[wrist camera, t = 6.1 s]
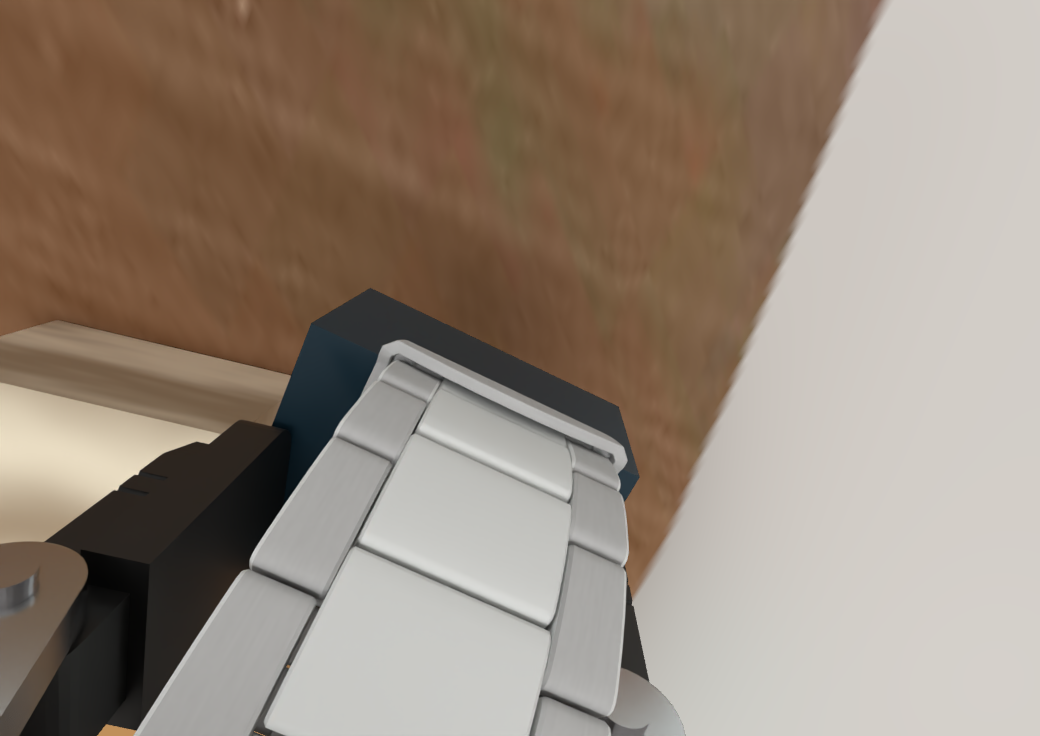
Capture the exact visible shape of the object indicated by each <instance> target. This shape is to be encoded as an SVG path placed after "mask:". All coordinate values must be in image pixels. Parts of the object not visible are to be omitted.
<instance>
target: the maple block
mask: <svg viewBox="0 0 1040 736" xmlns="http://www.w3.org/2000/svg"><path fill="white" fill-rule="evenodd" d="M290 377H291V375H287V374H283V373H278V372H274V371H270V370H266V369H262V368H257V367H253V366H249V365H245V364H241V363H236V362H232V361H228V360H224V359H220V358H215V357H211V356H207V355H203V354H199V353H194V352H190V351H186V350H182V349H178V348H173V347H169V346H165V345H161V344H156V343H152V342H148V341H144V340H140V339H135V338H131V337H127V336H123V335H119V334H114V333H110V332H106V331H102V330H98V329H93V328H89V327H85V326H81V325H77V324H72V323H68V322H64V321H60V320H55V321H52V322H48V323H45V324H42V325H38V326H35V327H31V328H28V329H24V330H21V331H17V332H14V333H11V334H7V335H4V336H0V544H3V543H10V542H23V541H38V542H44V541H46V540H47V539H48V538H50V537H51V536H53V535H54V534H55V533H57V532H58V531H59V530H61V529H62V528H63V527H65V526H66V525H67V524H69V523H70V522H71V521H73V520H74V519H75V518H77V517H78V516H79V515H81V514H82V513H83V512H85V511H86V510H87V509H89V508H90V507H92V506H93V505H94V504H96V503H97V502H98V501H100V500H101V499H102V498H104V497H105V496H106V495H108V494H109V493H110V492H112V491H113V490H116V491H117V490H118V489H119V486H120V485H121V484H122V483H124V482H125V481H126V480H128V479H129V478H131V477H132V476H133V475H138V474H139V471H140V470H141V469H143V468H144V467H145V466H147V465H148V464H149V463H151V462H152V461H153V460H155V459H156V458H157V457H159V456H160V455H161V454H163V453H165V452H168V451H171V450H174V449H177V448H179V447H182V446H185V445H188V444H191V443H194V442H196V441H197V442H201V443H206V444H210V443H211V442H212V441H213V440H215V439H216V438H217V437H218V436H219V435H221V434H222V433H223V432H224V431H226V430H227V429H228V428H229V427H230V426H232V425H233V424H234V423H235V422H237V421H238V420H247V421H251V422H256V423H260V424H264V425H269V426H272V424H273V421H274V419H275V416H276V413H277V411H278V408H279V406H280V403H281V401H282V398H283V395H284V393H285V390H286V388H287V385H288V382H289V380H290Z"/></svg>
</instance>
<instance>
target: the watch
mask: <svg viewBox="0 0 1040 736" xmlns="http://www.w3.org/2000/svg"><path fill="white" fill-rule="evenodd" d="M272 426H273V427H278V428H282V429H286V430H289V432H290V434H291V449H290V457H289V465H288V472H287V480H286V488H285V495H284V503H283V507H282V509H281V510H280V512H279V513H278V515H277V516H276V518H275V519H274V521H273V522H272V524H271V525H270V527H269V528H268V530H267V531H266V533H265V534H264V536H263V537H262V539H261V540H260V542H259V543H258V545H257V547H256V548H255V550H254V552H253V554H252V555H251V558H250V564H249V567H250V569H251V570H250V569H248V570H243V571H241V572H240V574H239V575H238V576H237V578H236V579H235V580H234V582H233V583H232V585H231V586H230V588H229V589H228V591H227V592H226V594H225V595H224V597H223V598H222V600H221V601H220V603H219V604H218V606H217V607H216V609H215V610H214V612H213V613H212V615H211V616H210V618H209V619H208V621H207V622H206V624H205V625H204V627H203V628H202V630H201V631H200V633H199V634H198V636H197V638H196V639H195V641H194V642H193V644H192V645H191V647H190V648H189V650H188V651H187V653H186V654H185V656H184V658H183V659H182V661H181V662H180V664H179V665H178V667H177V668H176V670H175V671H174V673H173V675H172V676H171V678H170V679H169V681H168V682H167V684H166V685H165V687H164V689H163V690H162V692H161V693H160V695H159V696H158V698H157V700H156V701H155V703H154V704H153V706H152V707H151V709H150V711H149V712H148V714H147V715H146V717H145V718H144V720H143V722H142V723H141V725H140V726H139V728H138V729H137V731H136V733H135V734H134V736H263V735H265V736H611V729H610V727H609V726H608V725H607V723H606V722H605V721H602V720H600V719H598V718H601V717H605V716H608V715H610V714H611V713H612V712H613V710H614V707H615V704H616V700H617V694H618V686H619V677H620V668H621V658H622V649H623V637H624V624H625V607H626V582H627V578H626V572H625V570H624V569H623V566H624V565H625V563H626V561H627V558H628V553H629V545H628V530H627V519H626V511H625V505H624V502H625V500H626V499H627V497H628V495H629V494H630V492H631V490H632V489H633V487H634V485H635V484H636V482H637V481H638V479H639V474H638V470H637V467H636V464H635V460H634V457H633V453H632V450H631V447H630V443H629V440H628V437H627V433H626V430H625V427H624V423H623V420H622V417H621V413H620V410H619V407H618V406H616V405H614V404H612V403H610V402H607V401H605V400H603V399H601V398H599V397H597V396H595V395H593V394H591V393H589V392H587V391H584V390H582V389H580V388H578V387H576V386H574V385H572V384H570V383H568V382H566V381H564V380H561V379H559V378H557V377H555V376H553V375H551V374H549V373H547V372H545V371H543V370H541V369H539V368H536V367H534V366H532V365H530V364H528V363H526V362H524V361H522V360H520V359H518V358H516V357H513V356H511V355H509V354H507V353H505V352H503V351H501V350H499V349H497V348H495V347H493V346H490V345H488V344H486V343H484V342H482V341H480V340H478V339H476V338H474V337H472V336H470V335H467V334H465V333H463V332H461V331H459V330H457V329H455V328H453V327H451V326H449V325H447V324H444V323H442V322H440V321H438V320H436V319H434V318H432V317H430V316H428V315H426V314H424V313H422V312H419V311H417V310H415V309H413V308H411V307H409V306H407V305H405V304H403V303H401V302H399V301H396V300H394V299H392V298H390V297H388V296H386V295H384V294H382V293H380V292H378V291H376V290H373V289H371V288H370V289H368V290H366V291H364V292H363V293H361V294H359V295H358V296H356V297H354V298H353V299H351V300H349V301H348V302H346V303H344V304H343V305H341V306H339V307H338V308H336V309H334V310H333V311H331V312H329V313H328V314H326V315H324V316H323V317H321V318H319V319H318V320H316V321H314V322H313V323H311V326H310V328H309V331H308V333H307V336H306V339H305V341H304V344H303V346H302V349H301V352H300V354H299V357H298V359H297V362H296V364H295V367H294V370H293V372H292V375H291V377H290V380H289V382H288V385H287V388H286V390H285V393H284V395H283V398H282V401H281V403H280V406H279V408H278V411H277V413H276V416H275V419H274V421H273V424H272ZM315 606H318V607H320V608H318V607H315ZM287 664H288V665H290V666H291V667H290V669H289V668H286V666H287ZM539 694H540V695H542V696H544V697H540V698H539ZM254 731H255V732H258V733H260V734H263V735H260V734H258V733H255V732H254Z"/></svg>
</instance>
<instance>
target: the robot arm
mask: <svg viewBox="0 0 1040 736" xmlns="http://www.w3.org/2000/svg"><path fill="white" fill-rule="evenodd" d="M290 449H291V434H290V432H289V430H286V429H282V428H278V427H273V426H269V425H264V424H260V423H256V422H251V421H247V420H238V421H237V422H235V423H234V424H233V425H232V426H230V427H229V428H228V429H227V430H226V431H224V432H223V433H222V434H221V435H219V436H218V437H217V438H216V439H215V440H213V441H212V442H211V443H210V444H206V443H201V442H197V441H196V442H194V443H191V444H188V445H185V446H182V447H179V448H177V449H174V450H171V451H168V452H165V453H163V454H161V455H160V456H159V457H157V458H156V459H155V460H153V461H152V462H151V463H149V464H148V465H147V466H145V467H144V468H143V469H141V470H140V471H139V474H138V475H133V476H132V477H131V478H129V479H128V480H126V481H125V482H124V483H122V484H121V485H120V486H119V489H118V490H117V491H116V490H113V491H112V492H110V493H109V494H108V495H106V496H105V497H104V498H102V499H101V500H100V501H98V502H97V503H96V504H94V505H93V506H92V507H90V508H89V509H87V510H86V511H85V512H83V513H82V514H81V515H79V516H78V517H77V518H75V519H74V520H73V521H71V522H70V523H69V524H67V525H66V526H65V527H63V528H62V529H61V530H59V531H58V532H57V533H55V534H54V535H53V536H51V537H50V538H48V539H47V540H46V541H44V542H38V541H23V542H10V543H3V544H0V736H97V735H98V734H99V732H100V731H101V730H102V728H103V727H104V726H105V725H106V724H108V725H113V726H118V727H122V728H127V729H132V730H137V729H138V728H139V726H140V725H141V723H142V722H143V720H144V718H145V717H146V715H147V714H148V712H149V711H150V709H151V707H152V706H153V704H154V703H155V701H156V700H157V698H158V696H159V695H160V693H161V692H162V690H163V689H164V687H165V685H166V684H167V682H168V681H169V679H170V678H171V676H172V675H173V673H174V671H175V670H176V668H177V667H178V665H179V664H180V662H181V661H182V659H183V658H184V656H185V654H186V653H187V651H188V650H189V648H190V647H191V645H192V644H193V642H194V641H195V639H196V638H197V636H198V634H199V633H200V631H201V630H202V628H203V627H204V625H205V624H206V622H207V621H208V619H209V618H210V616H211V615H212V613H213V612H214V610H215V609H216V607H217V606H218V604H219V603H220V601H221V600H222V598H223V597H224V595H225V594H226V592H227V591H228V589H229V588H230V586H231V585H232V583H233V582H234V580H235V579H236V578H237V576H238V575H239V574H240V572H241V571H243V570H248V569H250V567H249V564H250V558H251V555H252V554H253V552H254V550H255V548H256V547H257V545H258V543H259V542H260V540H261V539H262V537H263V536H264V534H265V533H266V531H267V530H268V528H269V527H270V525H271V524H272V522H273V521H274V519H275V518H276V516H277V515H278V513H279V512H280V510H281V509H282V507H283V503H284V495H285V488H286V480H287V472H288V465H289V457H290ZM623 569H624V570H625V572H626V568H625V565H624V566H623ZM250 570H251V569H250ZM626 578H627V573H626ZM627 584H628V578H627V582H626V607H625V624H624V637H623V649H622V658H621V668H620V677H619V686H618V694H617V700H616V704H615V707H614V710H613V712H612V713H611V714H610V715H608V716H605V717H601V718H598V719H600V720H602V721H605V722H606V723H607V725H608V726H609V727H610V729H611V736H686V735H685V732H684V728H683V724H682V722H681V720H680V717H679V715H678V714H677V712H676V710H675V709H674V707H673V706H672V704H671V703H670V702H669V700H668V699H667V698H666V697H665V696H664V695H663V694H662V693H661V692H660V691H659V690H658V689H657V688H656V687H654V686H653V685H652V684H651V683H650V682H649V679H648V674H647V669H646V664H645V660H644V655H643V650H642V645H641V641H640V636H639V631H638V626H637V621H636V617H635V612H634V607H633V606H632V597H631V592H630V587H629V585H627ZM540 697H544V696H542V695H540V694H539V698H540Z"/></svg>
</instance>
